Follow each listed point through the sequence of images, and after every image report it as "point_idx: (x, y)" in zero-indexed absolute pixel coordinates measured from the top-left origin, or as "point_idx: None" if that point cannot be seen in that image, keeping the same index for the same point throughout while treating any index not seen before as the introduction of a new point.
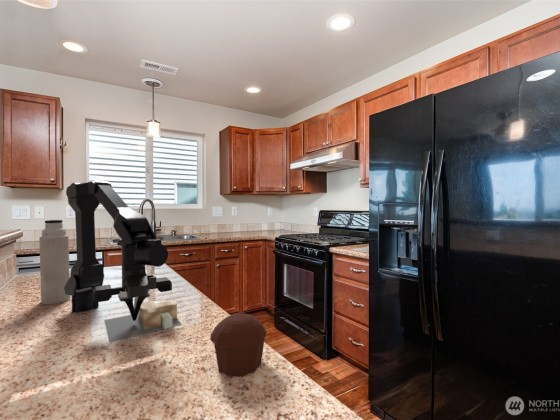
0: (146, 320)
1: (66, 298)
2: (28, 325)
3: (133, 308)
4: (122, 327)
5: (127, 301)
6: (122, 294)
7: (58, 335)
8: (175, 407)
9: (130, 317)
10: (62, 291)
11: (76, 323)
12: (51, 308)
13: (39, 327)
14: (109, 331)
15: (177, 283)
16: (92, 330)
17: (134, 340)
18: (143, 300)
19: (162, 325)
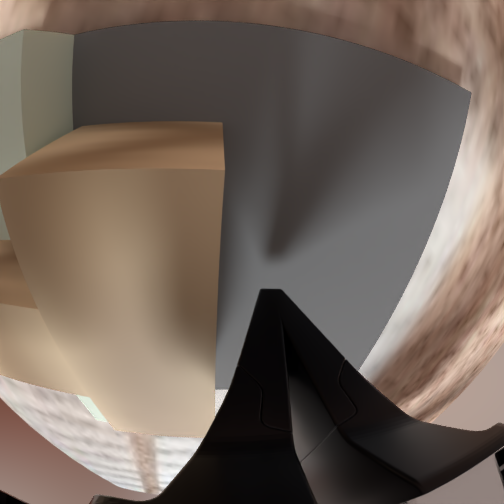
0: (198, 139)
1: None
2: (447, 392)
3: (312, 373)
4: (343, 266)
5: (437, 438)
6: (495, 500)
7: (471, 326)
8: None
9: None
10: None
11: (400, 384)
12: None
13: (448, 380)
14: (414, 249)
15: (84, 459)
16: (413, 322)
17: (331, 27)
18: (197, 454)
19: (70, 112)
